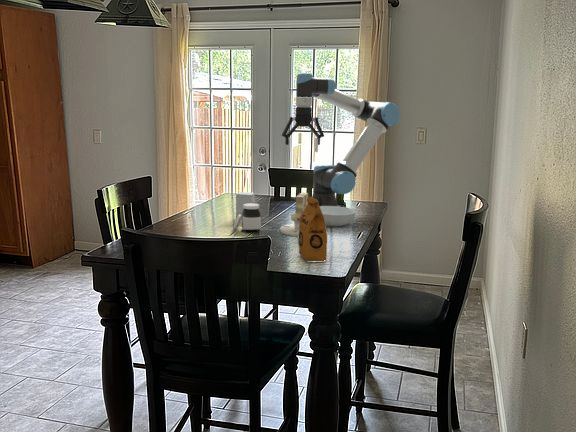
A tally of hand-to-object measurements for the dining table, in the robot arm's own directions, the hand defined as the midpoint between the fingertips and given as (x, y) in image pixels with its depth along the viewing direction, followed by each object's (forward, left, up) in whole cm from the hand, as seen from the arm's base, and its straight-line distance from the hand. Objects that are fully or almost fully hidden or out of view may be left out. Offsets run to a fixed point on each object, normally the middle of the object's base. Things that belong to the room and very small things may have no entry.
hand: (302, 151), depth 274 cm
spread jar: (+35, +20, -32) cm, 51 cm away
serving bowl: (-7, +20, -32) cm, 38 cm away
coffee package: (+27, +69, -32) cm, 80 cm away
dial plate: (+13, +29, -32) cm, 45 cm away
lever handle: (+13, +29, -26) cm, 42 cm away
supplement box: (+28, -2, -32) cm, 42 cm away
